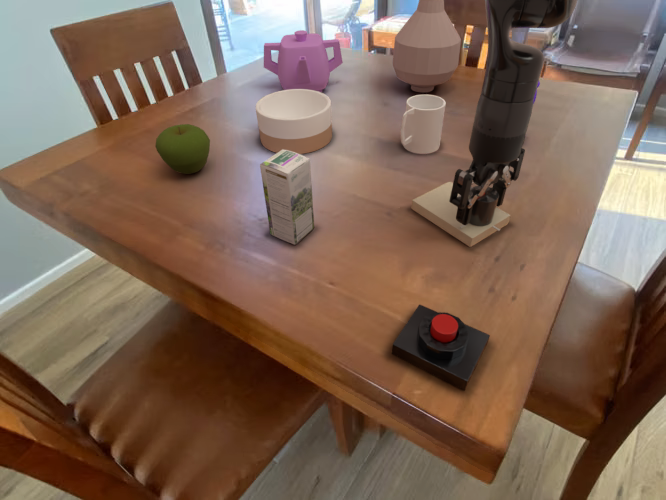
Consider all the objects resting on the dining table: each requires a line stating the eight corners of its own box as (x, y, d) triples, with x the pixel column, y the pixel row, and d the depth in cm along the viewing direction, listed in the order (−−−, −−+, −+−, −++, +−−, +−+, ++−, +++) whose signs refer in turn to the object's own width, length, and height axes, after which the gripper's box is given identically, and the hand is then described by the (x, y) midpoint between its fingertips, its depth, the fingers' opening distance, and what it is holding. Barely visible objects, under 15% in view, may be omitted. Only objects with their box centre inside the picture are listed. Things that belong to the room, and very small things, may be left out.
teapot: (303, 71, 137) (299, 18, 127) (349, 83, 128) (348, 27, 118) (259, 91, 126) (251, 35, 116) (306, 105, 117) (301, 46, 107)
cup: (384, 151, 97) (386, 108, 90) (418, 133, 103) (422, 91, 96) (413, 164, 92) (418, 119, 86) (446, 144, 98) (453, 101, 92)
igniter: (486, 345, 57) (493, 326, 55) (464, 391, 52) (470, 372, 50) (417, 314, 62) (420, 295, 59) (391, 354, 57) (393, 335, 54)
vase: (444, 104, 115) (463, -29, 95) (382, 94, 121) (387, -32, 101) (460, 81, 126) (480, -42, 106) (402, 73, 132) (411, -44, 112)
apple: (154, 177, 92) (139, 134, 85) (186, 154, 99) (174, 112, 92) (195, 187, 88) (183, 143, 82) (225, 163, 95) (215, 120, 89)
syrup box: (290, 218, 80) (281, 147, 70) (316, 229, 77) (310, 156, 67) (269, 235, 76) (257, 162, 66) (296, 246, 74) (287, 173, 64)
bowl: (245, 144, 101) (239, 110, 96) (287, 116, 112) (284, 84, 107) (307, 161, 95) (304, 126, 89) (345, 129, 106) (344, 96, 100)
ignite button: (459, 329, 55) (462, 320, 54) (450, 347, 53) (452, 338, 52) (436, 318, 56) (438, 310, 55) (426, 335, 54) (427, 327, 53)
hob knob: (475, 206, 77) (481, 180, 74) (498, 218, 74) (505, 192, 71) (457, 216, 75) (462, 191, 71) (480, 230, 72) (487, 204, 68)
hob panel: (515, 228, 75) (518, 218, 74) (477, 252, 71) (479, 242, 70) (448, 189, 85) (449, 180, 83) (411, 208, 81) (412, 199, 79)
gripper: (489, 148, 58) (468, 240, 69) (552, 118, 64) (523, 207, 75) (447, 129, 62) (433, 218, 73) (509, 102, 68) (488, 188, 79)
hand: (479, 212), depth 74 cm, fingers open, 8 cm apart
